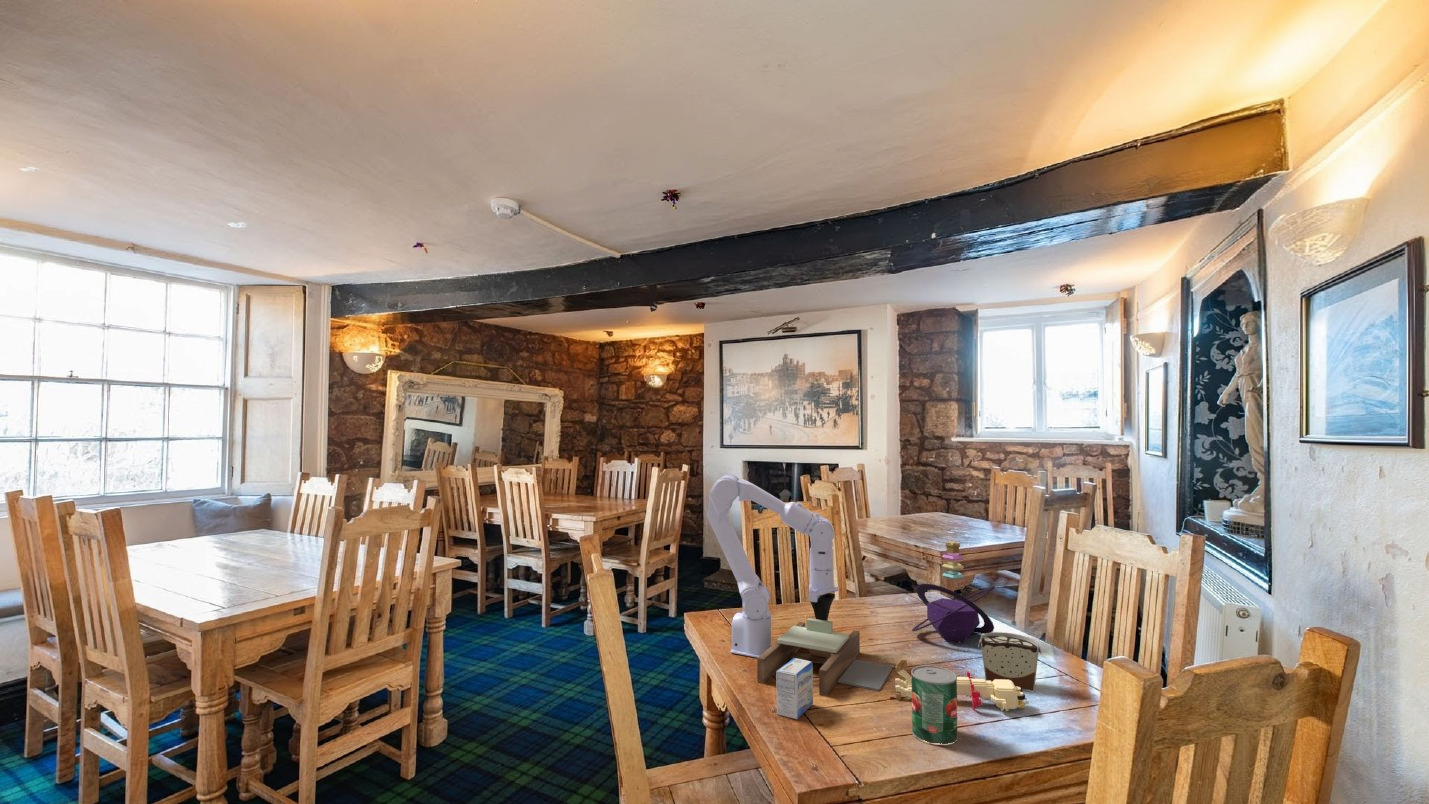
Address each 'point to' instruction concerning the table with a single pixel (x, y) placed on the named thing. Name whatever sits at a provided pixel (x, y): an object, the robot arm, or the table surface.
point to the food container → (1010, 658)
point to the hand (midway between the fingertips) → (821, 624)
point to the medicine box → (794, 688)
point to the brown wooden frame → (827, 673)
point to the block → (820, 653)
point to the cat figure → (972, 689)
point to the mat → (866, 675)
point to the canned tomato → (934, 704)
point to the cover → (815, 636)
